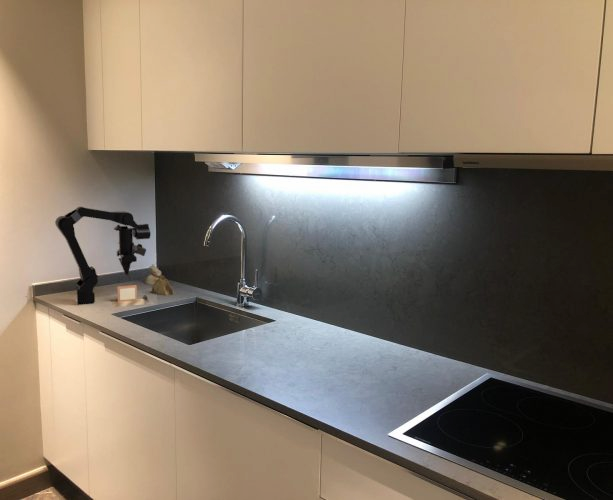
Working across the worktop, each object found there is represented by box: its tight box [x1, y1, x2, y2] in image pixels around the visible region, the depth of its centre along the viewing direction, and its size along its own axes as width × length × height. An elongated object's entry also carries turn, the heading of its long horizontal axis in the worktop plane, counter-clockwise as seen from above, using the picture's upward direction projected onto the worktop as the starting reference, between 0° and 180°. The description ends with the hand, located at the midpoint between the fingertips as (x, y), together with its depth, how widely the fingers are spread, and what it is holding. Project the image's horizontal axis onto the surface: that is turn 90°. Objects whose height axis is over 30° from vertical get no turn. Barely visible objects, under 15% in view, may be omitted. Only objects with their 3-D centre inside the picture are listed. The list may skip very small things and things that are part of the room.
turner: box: [143, 294, 153, 305], centre depth 244 cm, size 3×11×1 cm, turn 25°
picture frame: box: [116, 284, 138, 302], centre depth 242 cm, size 8×2×7 cm, turn 115°
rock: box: [151, 275, 175, 296], centre depth 258 cm, size 11×9×10 cm
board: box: [111, 297, 153, 308], centre depth 241 cm, size 16×10×1 cm, turn 115°
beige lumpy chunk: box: [144, 264, 163, 285], centre depth 279 cm, size 6×8×10 cm
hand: (126, 274), depth 247 cm, fingers closed
